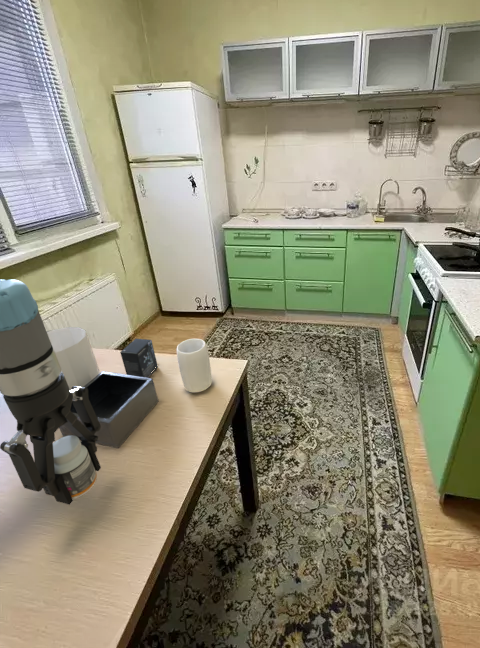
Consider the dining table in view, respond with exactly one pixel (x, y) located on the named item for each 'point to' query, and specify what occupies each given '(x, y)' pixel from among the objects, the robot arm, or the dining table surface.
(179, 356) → the cup
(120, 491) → the dining table surface
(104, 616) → the dining table surface
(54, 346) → the container
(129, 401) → the bin
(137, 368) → the box
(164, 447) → the dining table surface
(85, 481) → the pill bottle
